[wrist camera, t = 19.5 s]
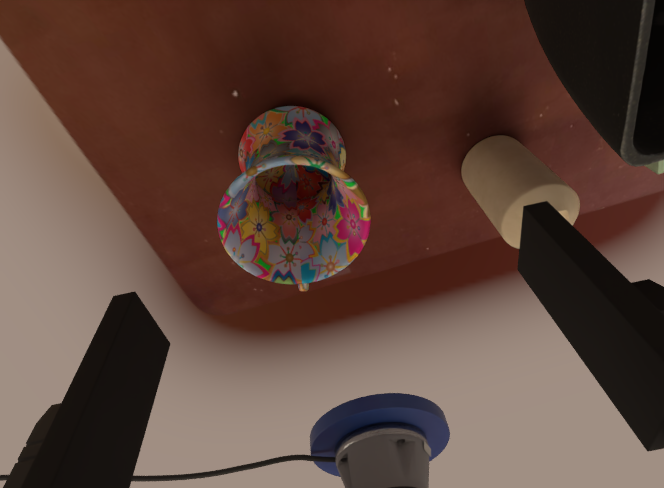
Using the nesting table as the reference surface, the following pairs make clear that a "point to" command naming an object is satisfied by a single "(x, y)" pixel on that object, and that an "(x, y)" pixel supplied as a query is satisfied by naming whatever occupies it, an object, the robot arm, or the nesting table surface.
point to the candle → (513, 184)
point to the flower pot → (610, 67)
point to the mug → (293, 200)
